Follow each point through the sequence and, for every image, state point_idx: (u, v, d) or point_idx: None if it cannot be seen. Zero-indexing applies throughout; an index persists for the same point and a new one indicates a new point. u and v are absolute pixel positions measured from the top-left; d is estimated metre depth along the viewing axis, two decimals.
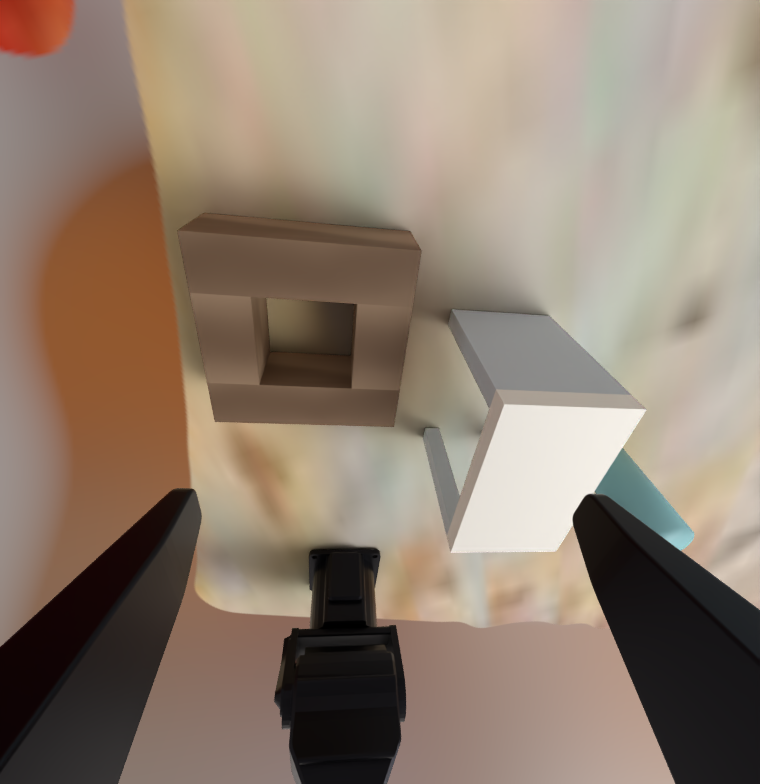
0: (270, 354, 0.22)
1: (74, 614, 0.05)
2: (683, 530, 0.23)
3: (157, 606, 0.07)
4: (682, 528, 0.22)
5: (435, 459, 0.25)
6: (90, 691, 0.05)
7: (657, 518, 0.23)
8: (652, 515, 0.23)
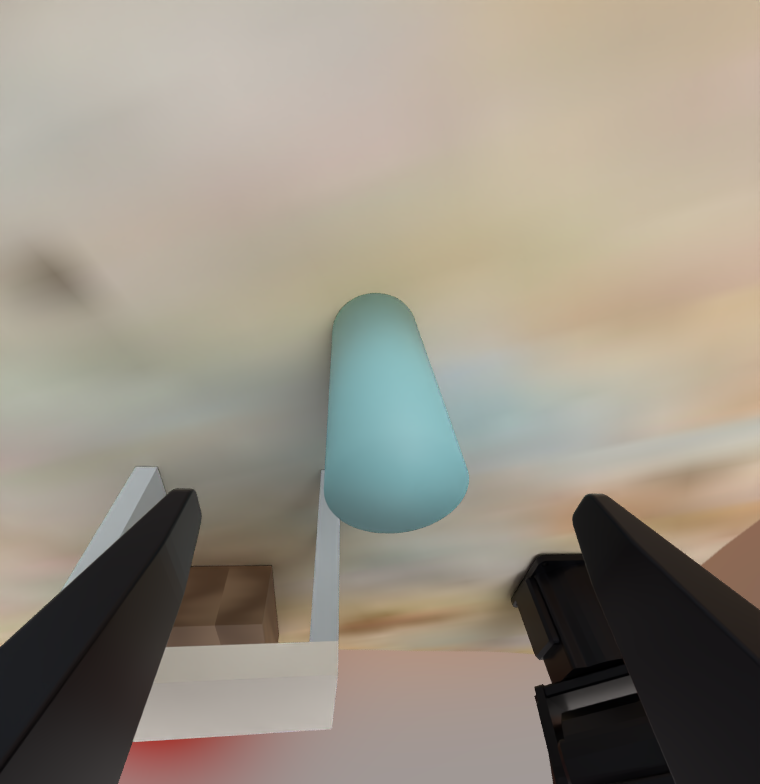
0: None
1: (74, 615, 0.05)
2: (338, 476, 0.08)
3: (157, 606, 0.07)
4: (329, 482, 0.09)
5: None
6: (90, 691, 0.05)
7: None
8: None
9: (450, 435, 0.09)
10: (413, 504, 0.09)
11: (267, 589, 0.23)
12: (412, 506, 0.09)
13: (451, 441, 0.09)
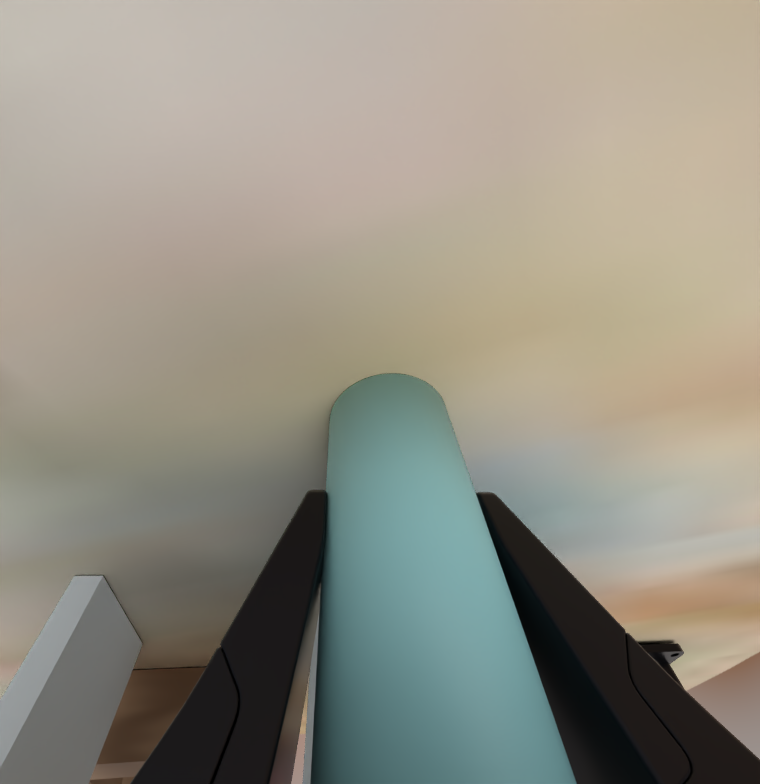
0: None
1: (269, 610, 0.06)
2: None
3: (316, 602, 0.07)
4: None
5: None
6: (297, 681, 0.05)
7: None
8: None
9: (557, 757, 0.04)
10: None
11: None
12: None
13: None
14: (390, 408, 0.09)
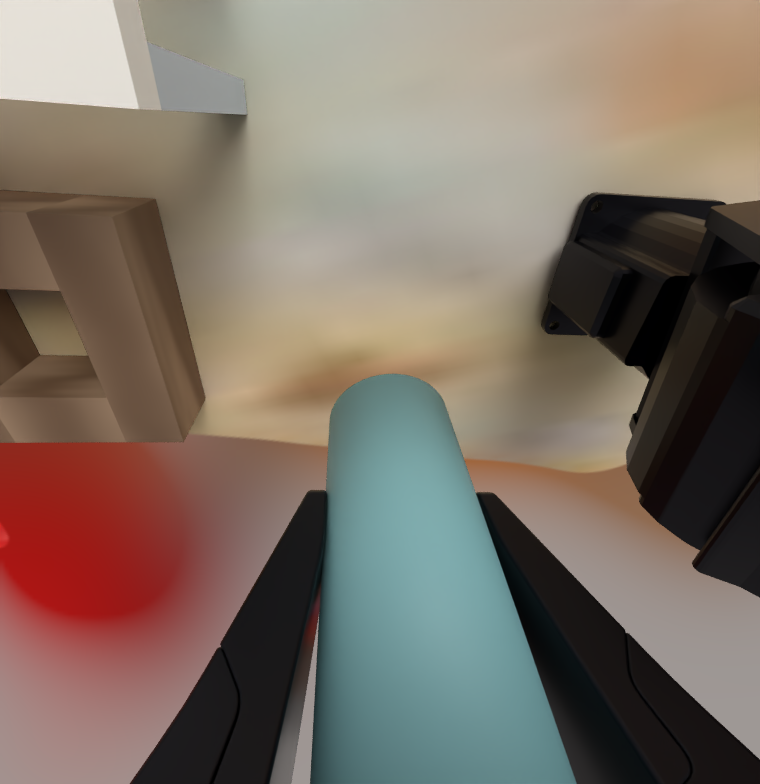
0: None
1: (269, 609, 0.06)
2: None
3: (316, 602, 0.07)
4: None
5: None
6: (297, 681, 0.05)
7: None
8: None
9: (558, 760, 0.04)
10: None
11: (138, 207, 0.14)
12: None
13: None
14: (390, 409, 0.09)
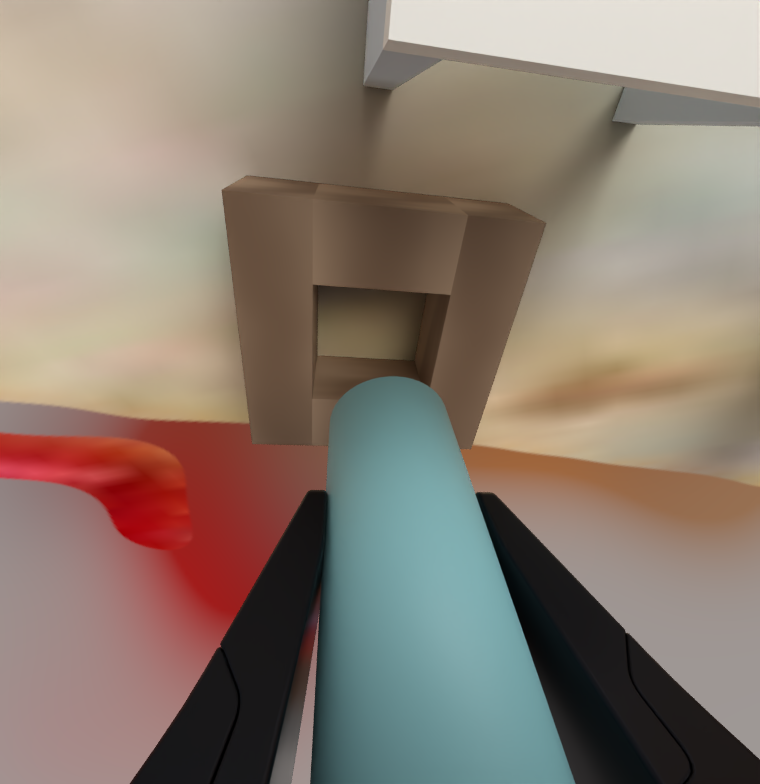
0: (415, 363, 0.19)
1: (269, 610, 0.06)
2: None
3: (316, 603, 0.07)
4: None
5: (674, 115, 0.11)
6: (297, 682, 0.05)
7: None
8: None
9: (559, 768, 0.04)
10: None
11: None
12: None
13: None
14: (390, 412, 0.09)
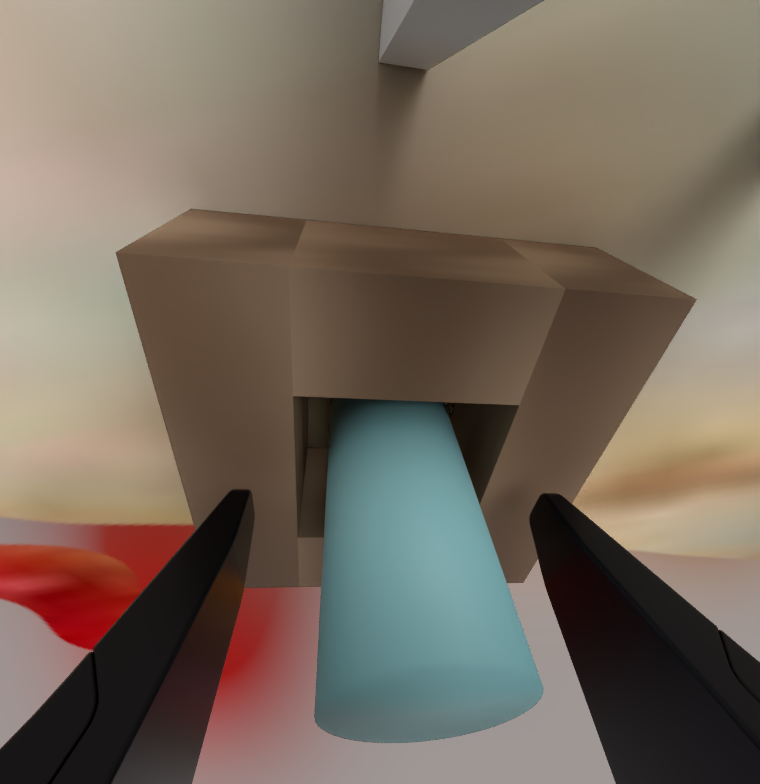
0: None
1: (159, 612, 0.06)
2: (338, 705, 0.05)
3: (225, 604, 0.07)
4: (323, 710, 0.05)
5: None
6: (180, 687, 0.05)
7: None
8: None
9: (514, 628, 0.06)
10: (453, 719, 0.06)
11: None
12: (451, 720, 0.06)
13: (518, 645, 0.05)
14: None
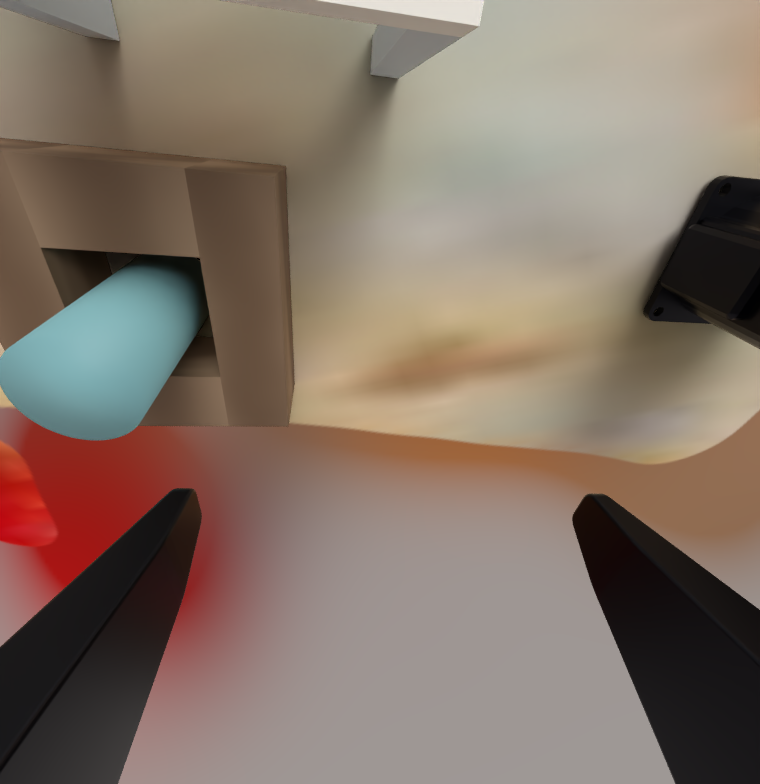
0: None
1: (74, 615, 0.05)
2: (10, 379, 0.10)
3: (157, 606, 0.07)
4: (4, 384, 0.10)
5: (379, 57, 0.11)
6: (90, 691, 0.05)
7: None
8: None
9: (117, 343, 0.10)
10: (101, 408, 0.11)
11: (280, 172, 0.13)
12: (101, 411, 0.11)
13: (111, 347, 0.10)
14: (144, 258, 0.14)
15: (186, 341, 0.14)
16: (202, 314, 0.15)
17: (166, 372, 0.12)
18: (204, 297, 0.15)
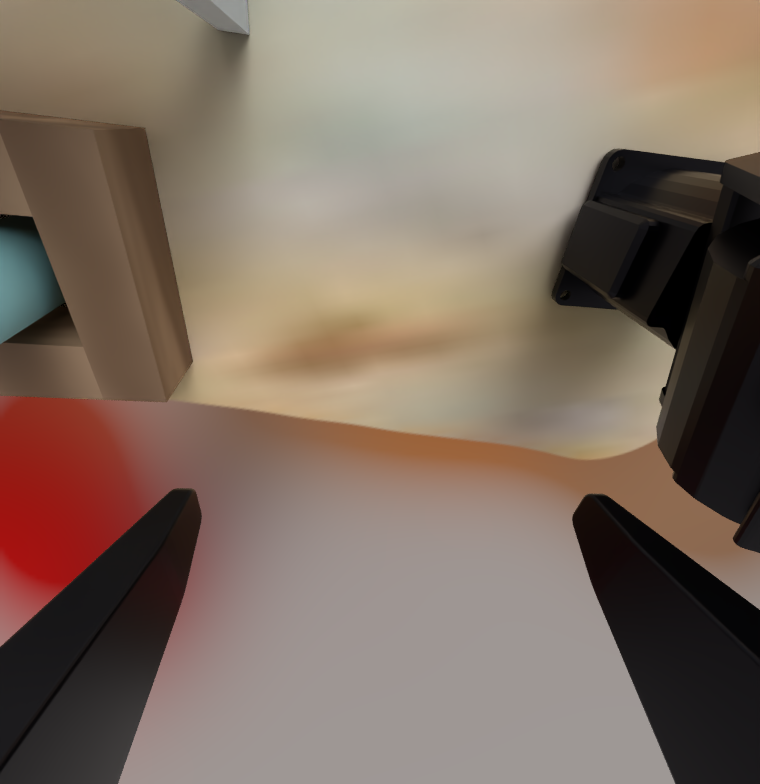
0: None
1: (73, 615, 0.05)
2: None
3: (157, 606, 0.07)
4: None
5: None
6: (90, 691, 0.05)
7: None
8: None
9: None
10: None
11: (124, 131, 0.13)
12: None
13: None
14: None
15: (29, 304, 0.13)
16: None
17: None
18: None
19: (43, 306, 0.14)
